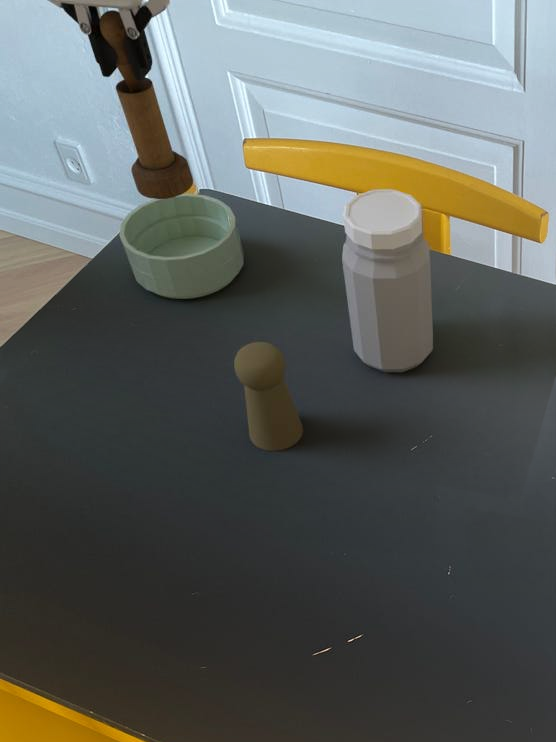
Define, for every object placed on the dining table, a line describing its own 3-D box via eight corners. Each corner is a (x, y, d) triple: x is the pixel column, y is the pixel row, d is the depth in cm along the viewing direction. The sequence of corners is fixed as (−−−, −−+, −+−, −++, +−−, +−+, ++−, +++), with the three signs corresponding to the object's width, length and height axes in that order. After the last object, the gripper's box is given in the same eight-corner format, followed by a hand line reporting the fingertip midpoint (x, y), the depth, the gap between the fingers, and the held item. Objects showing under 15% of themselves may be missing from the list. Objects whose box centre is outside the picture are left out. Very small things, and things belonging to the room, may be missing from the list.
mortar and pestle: (199, 171, 107) (151, -1, 92) (185, 201, 104) (132, 28, 89) (146, 169, 108) (89, -2, 93) (130, 199, 104) (68, 26, 89)
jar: (422, 383, 105) (414, 243, 90) (343, 370, 106) (322, 229, 91) (443, 331, 110) (439, 191, 95) (367, 319, 111) (352, 178, 96)
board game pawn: (305, 412, 102) (288, 332, 93) (300, 450, 99) (283, 371, 89) (252, 413, 102) (230, 333, 93) (246, 451, 98) (223, 372, 89)
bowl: (117, 295, 113) (101, 252, 108) (158, 231, 121) (145, 188, 116) (224, 308, 112) (212, 265, 107) (258, 242, 120) (249, 200, 115)
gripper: (-43, -140, 79) (41, 82, 94) (134, -126, 77) (188, 97, 93) (-4, -169, 83) (70, 49, 98) (164, -155, 81) (212, 63, 97)
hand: (127, 71), depth 95 cm, fingers closed on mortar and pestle, 3 cm apart
